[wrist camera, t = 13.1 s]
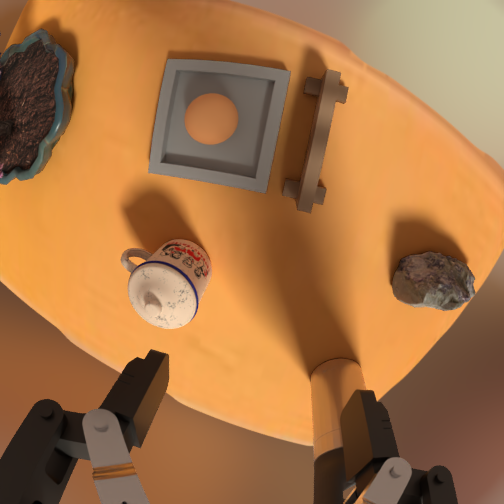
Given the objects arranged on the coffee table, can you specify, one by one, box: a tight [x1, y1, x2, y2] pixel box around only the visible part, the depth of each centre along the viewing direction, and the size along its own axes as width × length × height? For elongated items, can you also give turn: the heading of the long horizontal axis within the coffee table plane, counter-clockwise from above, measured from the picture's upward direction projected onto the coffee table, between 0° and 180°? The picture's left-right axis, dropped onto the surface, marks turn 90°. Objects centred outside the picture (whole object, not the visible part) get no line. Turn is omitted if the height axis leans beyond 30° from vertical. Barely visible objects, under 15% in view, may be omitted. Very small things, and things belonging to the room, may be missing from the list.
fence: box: [282, 69, 349, 213], centre depth 30 cm, size 16×5×5 cm, turn 169°
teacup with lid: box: [121, 239, 212, 329], centre depth 35 cm, size 12×9×12 cm
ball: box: [184, 93, 238, 145], centre depth 29 cm, size 6×6×6 cm
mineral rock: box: [392, 251, 475, 311], centre depth 32 cm, size 13×11×10 cm
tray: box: [148, 59, 291, 194], centre depth 32 cm, size 15×15×2 cm
